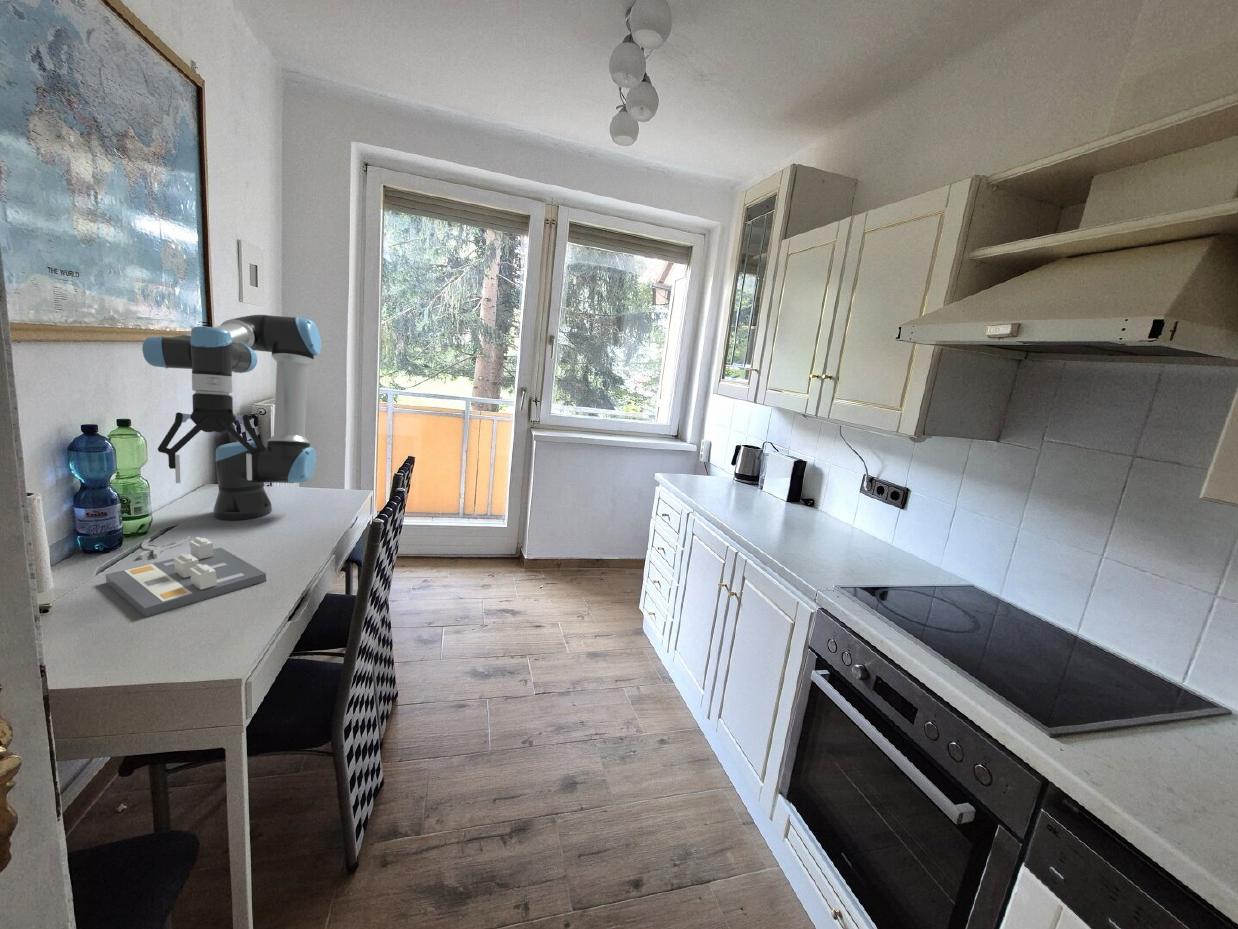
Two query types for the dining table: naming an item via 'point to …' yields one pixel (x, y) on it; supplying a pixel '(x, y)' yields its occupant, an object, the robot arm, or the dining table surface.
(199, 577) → the white plastic block
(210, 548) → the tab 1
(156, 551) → the pliers
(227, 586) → the switch bank
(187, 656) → the dining table surface
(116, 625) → the dining table surface
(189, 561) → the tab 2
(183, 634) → the dining table surface
